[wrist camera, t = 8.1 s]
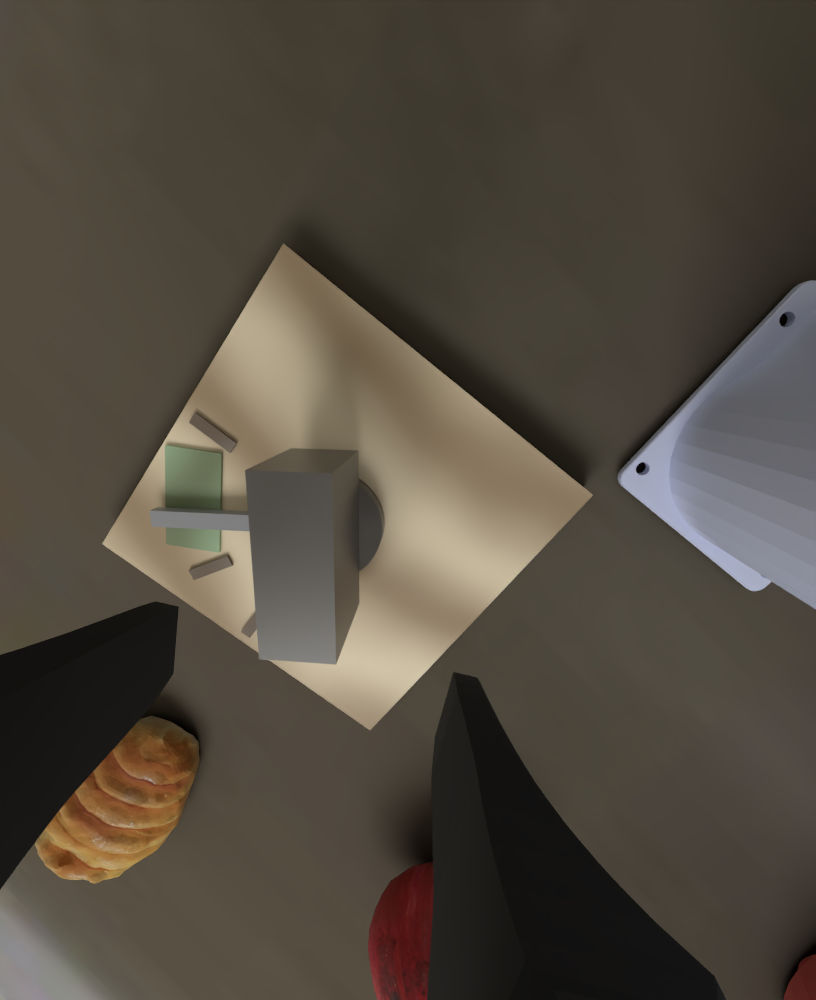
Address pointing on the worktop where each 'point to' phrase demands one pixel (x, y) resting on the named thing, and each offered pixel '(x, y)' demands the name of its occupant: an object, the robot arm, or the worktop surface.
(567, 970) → the robot arm
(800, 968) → the citrus juicer
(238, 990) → the worktop surface
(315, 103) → the worktop surface
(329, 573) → the dark angled piece
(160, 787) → the pastry
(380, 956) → the onion
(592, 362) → the worktop surface
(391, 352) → the board
